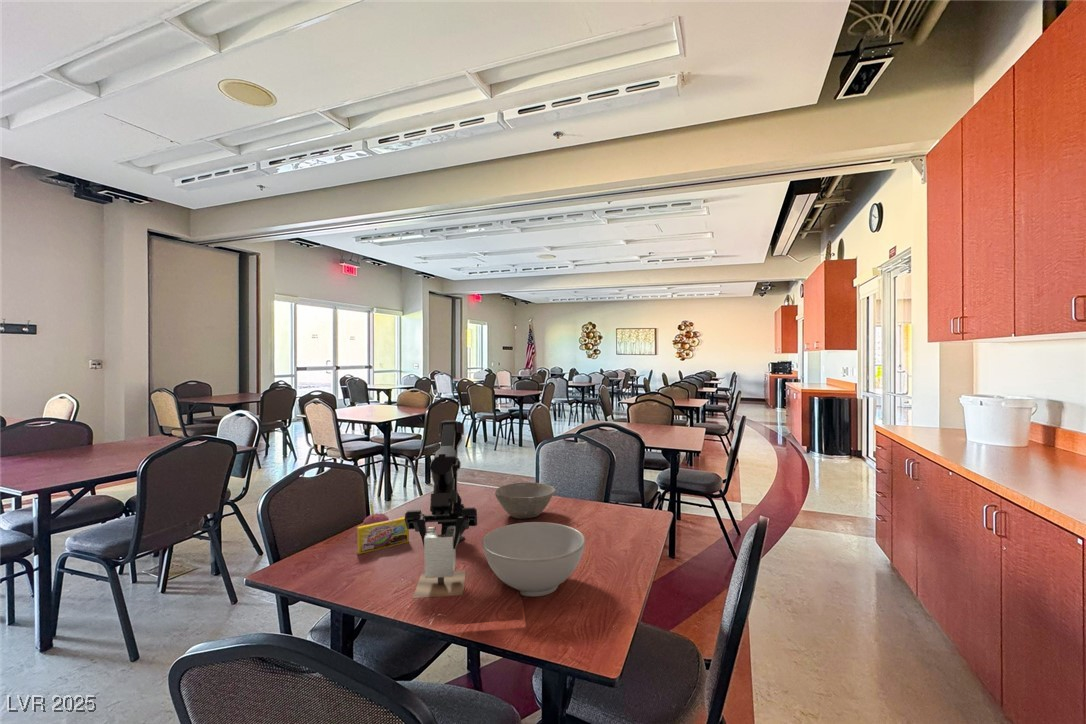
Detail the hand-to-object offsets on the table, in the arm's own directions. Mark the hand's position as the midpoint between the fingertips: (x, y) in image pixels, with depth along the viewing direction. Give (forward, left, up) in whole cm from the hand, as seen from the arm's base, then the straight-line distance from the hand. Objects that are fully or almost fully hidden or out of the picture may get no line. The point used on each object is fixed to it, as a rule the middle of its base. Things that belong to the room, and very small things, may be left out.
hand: (439, 549), depth 121 cm
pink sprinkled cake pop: (-22, -47, -11) cm, 53 cm away
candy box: (-15, -36, -11) cm, 40 cm away
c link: (-1, -1, -6) cm, 6 cm away
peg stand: (-1, -1, -10) cm, 11 cm away
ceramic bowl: (-62, -11, -11) cm, 64 cm away
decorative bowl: (-13, +20, -11) cm, 26 cm away
